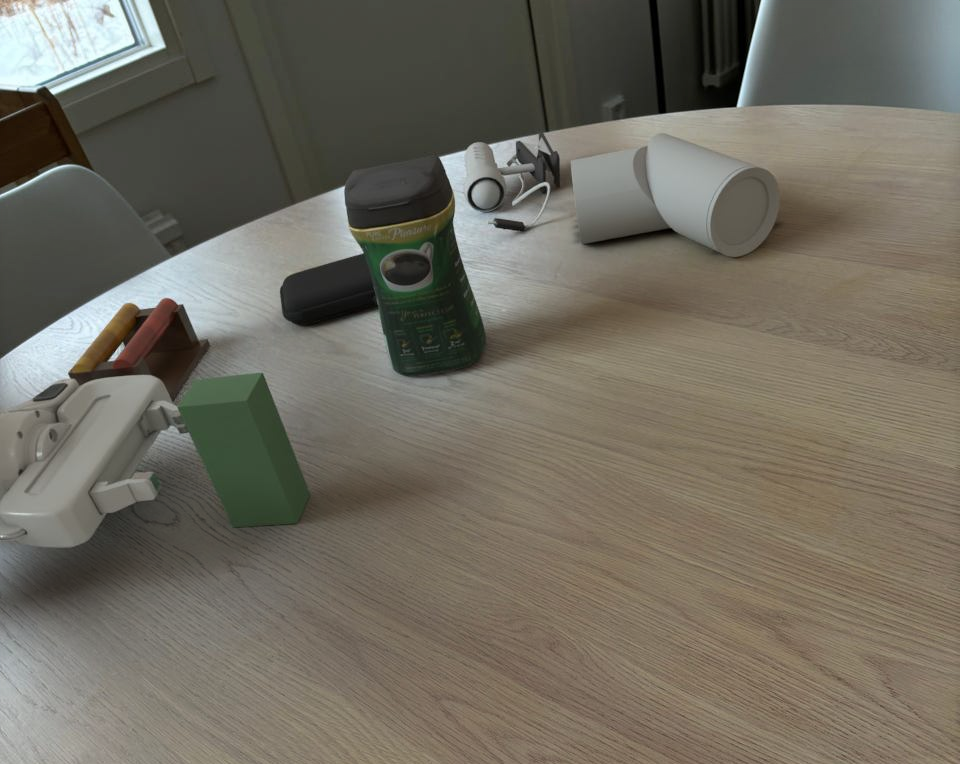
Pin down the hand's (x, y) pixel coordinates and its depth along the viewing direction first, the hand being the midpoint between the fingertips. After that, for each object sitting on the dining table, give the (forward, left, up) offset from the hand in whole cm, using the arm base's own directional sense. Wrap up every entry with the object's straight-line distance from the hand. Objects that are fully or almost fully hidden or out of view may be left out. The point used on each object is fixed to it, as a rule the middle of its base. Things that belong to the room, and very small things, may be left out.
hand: (177, 450), depth 86 cm
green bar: (+6, -1, -7) cm, 9 cm away
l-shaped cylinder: (+47, +35, -7) cm, 59 cm away
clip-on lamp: (+31, +53, -7) cm, 61 cm away
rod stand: (-11, +28, -7) cm, 31 cm away
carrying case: (+11, +37, -7) cm, 39 cm away
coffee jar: (+21, +20, -7) cm, 29 cm away
